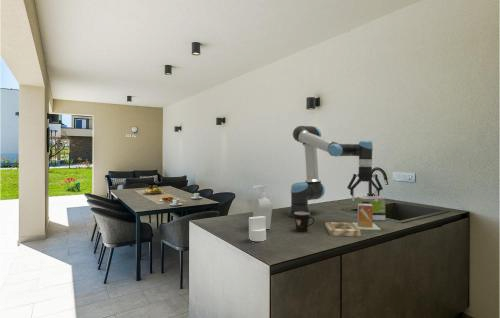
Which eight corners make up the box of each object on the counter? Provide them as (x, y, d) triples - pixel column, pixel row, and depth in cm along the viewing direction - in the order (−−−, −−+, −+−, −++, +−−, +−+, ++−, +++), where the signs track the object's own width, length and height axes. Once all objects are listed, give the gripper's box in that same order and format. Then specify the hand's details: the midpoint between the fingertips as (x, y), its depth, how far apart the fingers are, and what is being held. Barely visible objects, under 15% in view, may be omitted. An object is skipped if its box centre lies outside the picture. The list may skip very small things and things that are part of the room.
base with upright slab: (253, 243, 143) (253, 220, 143) (246, 238, 151) (246, 216, 151) (269, 241, 147) (268, 218, 146) (261, 236, 155) (261, 214, 155)
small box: (358, 226, 172) (358, 205, 171) (357, 223, 178) (357, 203, 177) (372, 227, 169) (372, 205, 169) (371, 224, 175) (371, 203, 175)
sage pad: (355, 229, 167) (355, 228, 167) (350, 223, 181) (350, 222, 181) (380, 230, 166) (380, 229, 166) (373, 223, 180) (373, 223, 180)
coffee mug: (291, 229, 169) (291, 212, 168) (303, 227, 172) (303, 211, 172) (302, 234, 158) (302, 216, 158) (315, 232, 161) (315, 215, 161)
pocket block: (330, 235, 155) (330, 230, 155) (325, 226, 173) (325, 222, 173) (360, 236, 154) (360, 231, 154) (352, 227, 171) (352, 222, 171)
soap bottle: (249, 226, 175) (249, 184, 174) (264, 225, 178) (264, 184, 178) (256, 232, 163) (256, 187, 163) (272, 230, 167) (272, 186, 166)
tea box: (380, 217, 197) (380, 196, 197) (385, 220, 187) (385, 198, 187) (357, 217, 199) (358, 195, 199) (362, 220, 189) (362, 198, 189)
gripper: (345, 166, 170) (344, 201, 171) (389, 166, 167) (388, 202, 168) (342, 165, 178) (342, 199, 179) (384, 166, 175) (383, 200, 176)
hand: (364, 201), depth 173 cm, fingers open, 13 cm apart
